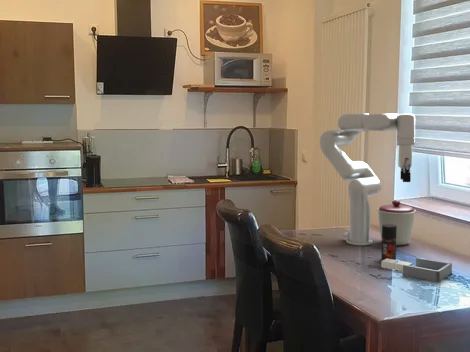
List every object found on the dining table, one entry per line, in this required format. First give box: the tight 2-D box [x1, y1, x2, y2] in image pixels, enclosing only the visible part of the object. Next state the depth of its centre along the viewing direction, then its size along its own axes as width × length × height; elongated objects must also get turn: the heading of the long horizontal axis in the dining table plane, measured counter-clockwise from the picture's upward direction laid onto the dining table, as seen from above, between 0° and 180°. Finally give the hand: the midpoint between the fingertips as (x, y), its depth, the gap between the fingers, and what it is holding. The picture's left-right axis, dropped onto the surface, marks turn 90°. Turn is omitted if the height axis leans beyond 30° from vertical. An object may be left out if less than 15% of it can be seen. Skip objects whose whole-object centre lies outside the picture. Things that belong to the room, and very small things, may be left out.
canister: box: [376, 199, 417, 246], centre depth 260 cm, size 18×18×21 cm
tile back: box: [380, 259, 399, 271], centre depth 222 cm, size 5×5×3 cm
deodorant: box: [381, 224, 397, 261], centre depth 232 cm, size 6×6×15 cm
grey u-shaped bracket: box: [402, 257, 453, 283], centre depth 212 cm, size 14×14×4 cm
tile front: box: [394, 260, 413, 272], centre depth 218 cm, size 5×5×3 cm
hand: (405, 180), depth 239 cm, fingers open, 9 cm apart
